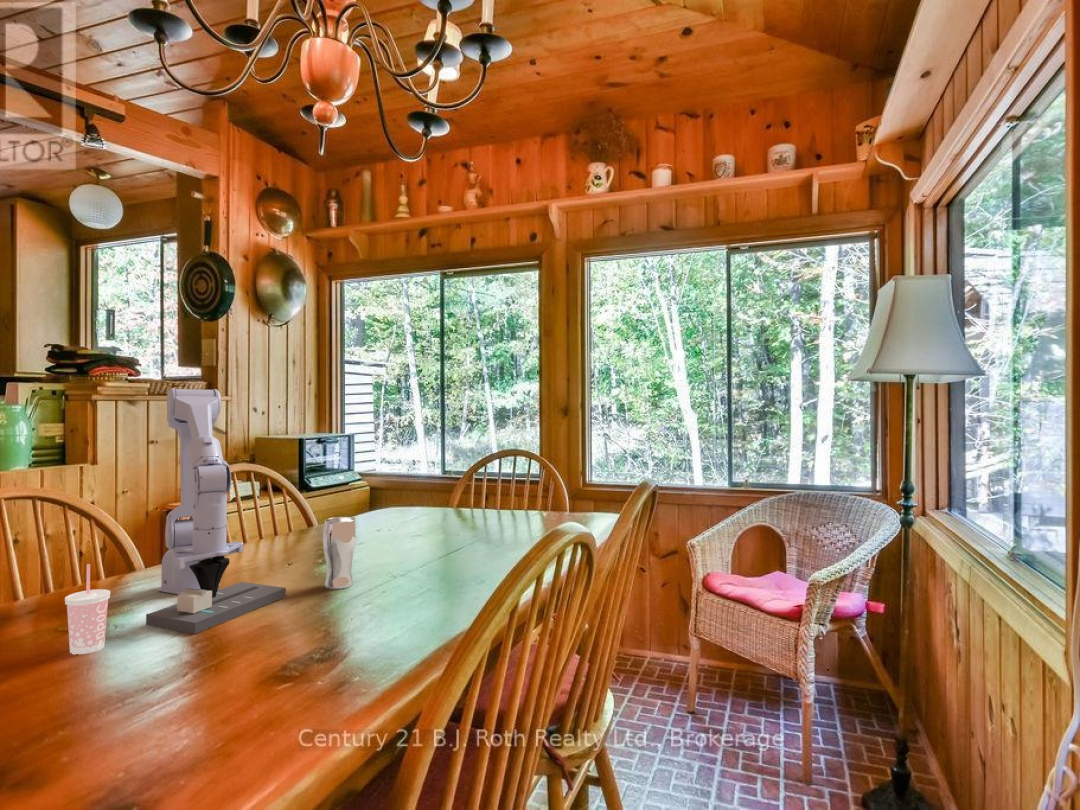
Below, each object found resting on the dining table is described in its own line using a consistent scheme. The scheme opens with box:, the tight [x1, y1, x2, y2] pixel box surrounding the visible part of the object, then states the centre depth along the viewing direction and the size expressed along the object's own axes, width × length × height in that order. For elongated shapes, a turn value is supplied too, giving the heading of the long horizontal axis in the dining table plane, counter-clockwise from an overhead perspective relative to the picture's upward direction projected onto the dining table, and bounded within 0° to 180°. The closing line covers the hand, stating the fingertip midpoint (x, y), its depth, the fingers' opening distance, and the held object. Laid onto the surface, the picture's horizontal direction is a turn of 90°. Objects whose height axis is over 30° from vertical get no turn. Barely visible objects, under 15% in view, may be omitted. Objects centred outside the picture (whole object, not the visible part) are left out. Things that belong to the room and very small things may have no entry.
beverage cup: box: [64, 563, 111, 655], centre depth 99 cm, size 6×6×14 cm
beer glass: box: [322, 516, 357, 590], centre depth 136 cm, size 7×7×15 cm
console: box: [145, 581, 287, 635], centre depth 118 cm, size 12×22×2 cm, turn 161°
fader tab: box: [176, 588, 212, 613], centre depth 113 cm, size 4×4×4 cm
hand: (209, 597), depth 116 cm, fingers closed
